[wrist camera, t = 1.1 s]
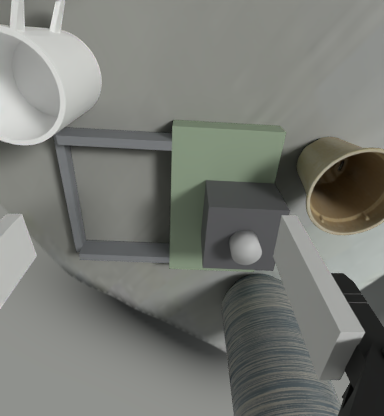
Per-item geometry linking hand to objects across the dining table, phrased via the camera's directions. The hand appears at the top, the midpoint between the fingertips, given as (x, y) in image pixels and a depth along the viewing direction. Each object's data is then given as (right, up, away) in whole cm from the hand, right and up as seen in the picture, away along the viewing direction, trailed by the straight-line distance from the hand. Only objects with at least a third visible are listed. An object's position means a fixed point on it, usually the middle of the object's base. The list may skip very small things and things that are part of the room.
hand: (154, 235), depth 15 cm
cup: (-11, +17, +14) cm, 24 cm away
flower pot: (+18, +7, +20) cm, 27 cm away
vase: (+12, -12, +32) cm, 36 cm away
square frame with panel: (-1, +3, +22) cm, 22 cm away
